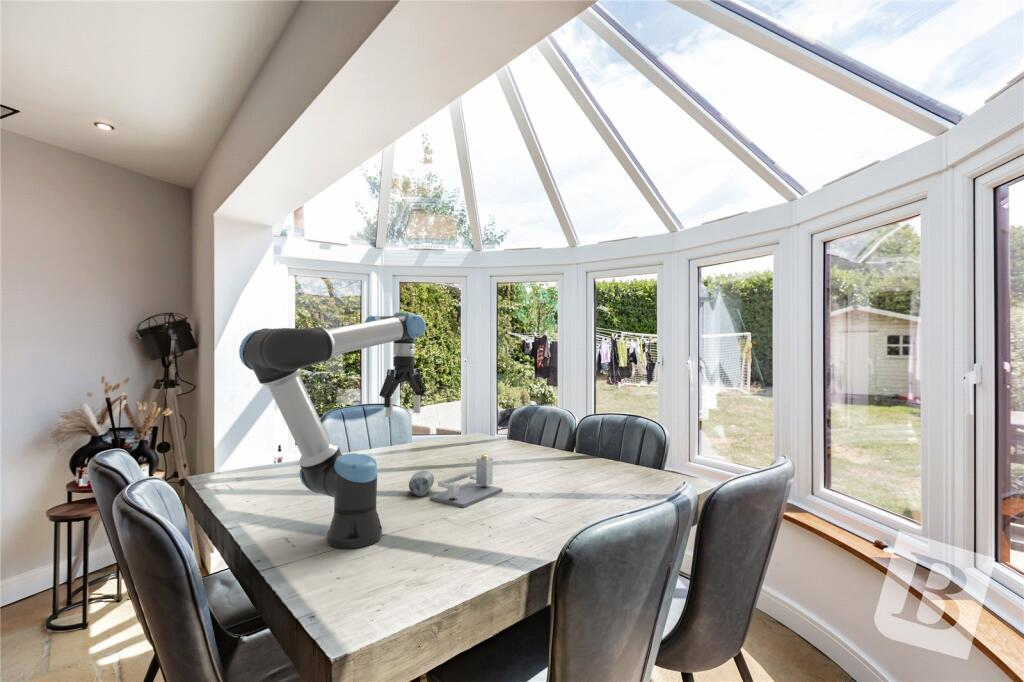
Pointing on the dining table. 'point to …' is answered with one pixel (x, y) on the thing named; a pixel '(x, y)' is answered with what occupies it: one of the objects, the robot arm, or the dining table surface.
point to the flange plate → (467, 495)
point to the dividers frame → (454, 488)
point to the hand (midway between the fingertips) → (403, 414)
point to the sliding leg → (483, 470)
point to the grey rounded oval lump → (421, 482)
